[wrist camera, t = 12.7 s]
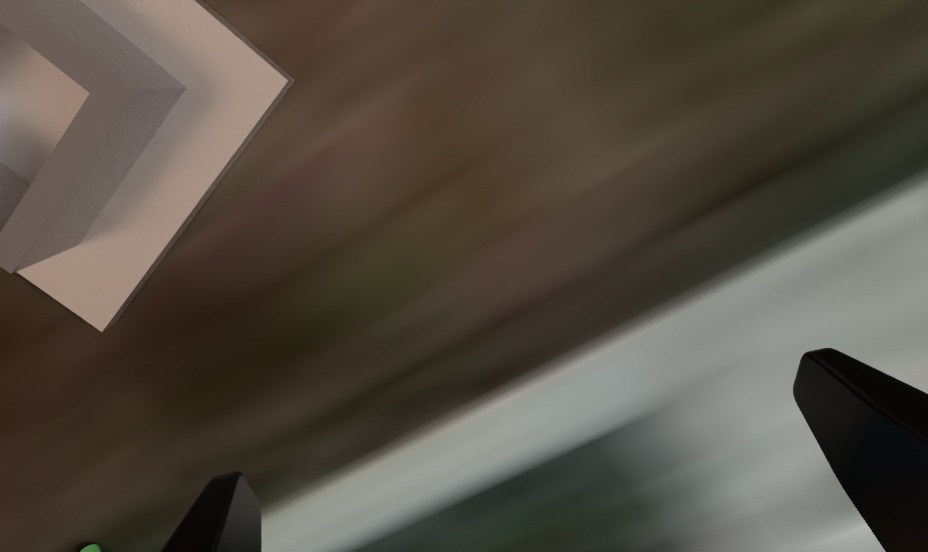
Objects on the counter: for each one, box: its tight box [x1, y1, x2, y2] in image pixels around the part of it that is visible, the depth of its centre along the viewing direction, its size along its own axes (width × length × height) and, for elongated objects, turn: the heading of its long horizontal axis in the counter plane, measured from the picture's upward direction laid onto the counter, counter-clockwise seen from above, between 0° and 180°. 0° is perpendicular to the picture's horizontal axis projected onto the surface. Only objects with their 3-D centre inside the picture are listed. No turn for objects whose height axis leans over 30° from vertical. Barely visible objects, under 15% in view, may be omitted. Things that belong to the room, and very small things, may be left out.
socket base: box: [0, 0, 296, 332], centre depth 17 cm, size 11×11×4 cm
